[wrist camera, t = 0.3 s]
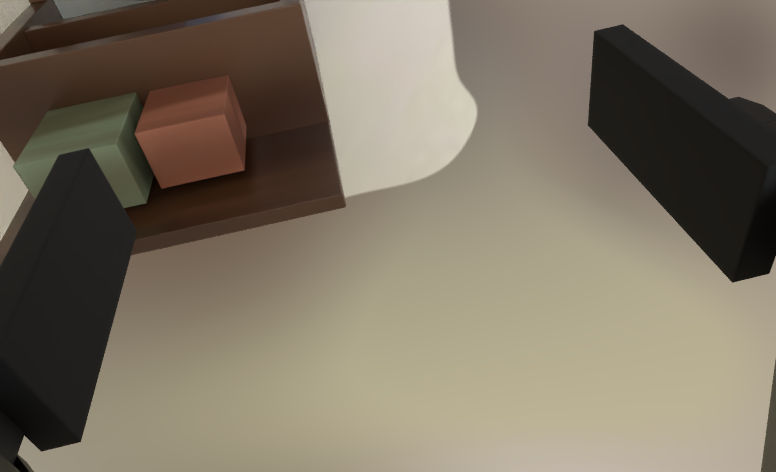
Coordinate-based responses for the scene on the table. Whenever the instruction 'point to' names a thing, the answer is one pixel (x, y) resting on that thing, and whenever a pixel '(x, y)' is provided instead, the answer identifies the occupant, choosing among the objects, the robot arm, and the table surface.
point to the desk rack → (174, 112)
